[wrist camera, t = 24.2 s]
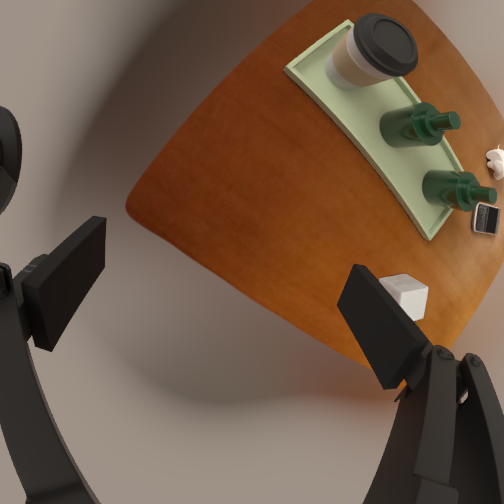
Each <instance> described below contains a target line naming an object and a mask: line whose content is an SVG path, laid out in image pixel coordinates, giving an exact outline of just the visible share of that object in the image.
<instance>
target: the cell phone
mask: <svg viewBox="0 0 504 504" xmlns="http://www.w3.org/2000/svg"><path fill="white" fill-rule="evenodd" d="M499 217H500V209H499V208H497V207H494V206H490V205H487V204H483V203H478V204H477V205H476V206H475V208H474V211H473V219H472V229H473V231H476V232H481V233H487V234H493V235H496V234H497V231H498V224H499Z"/></svg>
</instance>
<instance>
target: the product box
mask: <svg viewBox="0 0 504 504" xmlns="http://www.w3.org/2000/svg"><path fill="white" fill-rule="evenodd" d="M379 282H380V283H381V284H382V285H383V286H384V288H385V289H386V290H387V291H388V292H389V293H390V294H391V296H392V297H393V298H394V299H395V300H396V301H397V303H398V304H399V305H400V306H401V307H402V309H403V310H404V311H405V312H406V313H407V315H408V316H409V317H411V319H412V320H413V321H416V320H419V319H423V317H424V311H425V306H426V300H427V293H428V287H427V286H426V285H424V284H422V283H421V282H419V281H417V280H415V279H414V278H412V277H410V276H409V275H407V274H400V275H395V276H390V277H384V278H379Z"/></svg>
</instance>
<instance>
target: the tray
mask: <svg viewBox="0 0 504 504" xmlns="http://www.w3.org/2000/svg"><path fill="white" fill-rule="evenodd" d="M353 26H354V24H353V23H351V21H350V20H346V21H345V22H343V23H342V24H341V25H339V26H338V27H336V28H335V29H334V30H332V31H331V32H329V33H328V34H327V35H325V36H324V37H323V38H321V39H320V40H319V41H317V42H316V43H315V44H313V45H312V46H311V47H309V48H308V49H307V50H305V51H304V52H303V53H302V54H300V55H299V56H298V57H297V58H295V59H294V60H293V61H292V62H290V63H289V64H288V65H287V66H286V67H285V68H284V70H283V71H284V72H285V73H286V74H287V75H288V76H289V77H290V78H291V79H292V80H293V81H294V82H295V83H297V84H298V85H299V86H300V87H301V88H302V89H303V90H304V91H305V92H306V93H307V94H308V95H309V96H310V97H311V98H312V99H313V100H314V101H315V102H316V103H317V104H318V105H319V106H320V107H321V108H322V109H323V110H324V111H325V113H326V114H327V115H328V116H329V117H330V118H331V119H332V120H333V121H334V122H335V123H336V124H337V125H338V127H339V128H340V129H341V130H342V131H343V132H344V133H345V134H346V136H347V137H348V138H349V139H350V140H351V141H352V142H353V144H354V145H355V146H356V147H357V148H358V149H359V151H360V152H361V153H362V154H363V155H364V157H365V158H366V159H367V160H368V162H369V163H370V164H371V165H372V167H373V168H374V169H375V170H376V172H377V173H378V174H379V176H380V177H381V178H382V179H383V181H384V182H385V183H386V185H387V186H388V187H389V189H390V190H391V191H392V193H393V194H394V196H395V197H396V198H397V200H398V201H399V203H400V204H401V205H402V207H403V208H404V210H405V211H406V213H407V214H408V215H409V217H410V218H411V220H412V221H413V223H414V224H415V226H416V227H417V229H418V231H419V232H420V234H421V235H422V237H423V238H424V239H427V240H429V241H431V239H432V238H433V237H434V235H435V234H436V233H437V231H438V230H439V229H440V227H441V226H442V225H443V223H444V222H445V221H446V219H447V218H448V216H449V215H450V214H451V212H452V211H453V209H452V208H447V207H443V206H438V205H433V204H430V203H429V202H427V200H426V199H425V197H424V195H423V191H422V181H423V178H424V176H425V174H426V173H427V172H428V171H430V170H432V169H435V170H452V171H464V170H463V168H462V166H461V165H460V163H459V161H458V159H457V157H456V156H455V154H454V152H453V150H452V149H451V147H450V145H449V143H448V142H447V140H446V139H445V137H444V135H443V138H442V140H441V141H440V143H439V144H437V145H435V146H422V147H407V148H394V147H391V146H390V145H388V144H387V143H386V142H385V141H384V139H383V138H382V135H381V133H380V128H379V124H380V119H381V117H382V116H383V114H384V113H386V112H388V111H391V110H395V109H398V108H402V107H406V106H409V105H413V104H417V103H421V101H420V100H419V98H418V97H417V96H416V94H415V93H414V92H413V90H412V89H411V88H410V86H409V85H408V84H407V82H406V81H405V80H404V79H403V77H395V78H393V79H390V80H386V81H383V82H380V83H377V84H373V85H370V86H366V87H362V88H359V89H356V90H351V91H348V90H343V89H341V88H339V87H337V86H336V85H334V84H333V83H332V82H331V81H330V79H329V78H328V76H327V74H326V72H325V61H326V59H327V58H328V57H329V55H330V54H331V53H332V52H333V49H334V48H335V46H336V45H337V44H338V43H339V41H340V40H341V39H342V38H343V37H344V36H345V34H346V33H347V32H348V31H349V30H350V28H352V27H353Z"/></svg>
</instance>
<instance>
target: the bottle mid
mask: <svg viewBox="0 0 504 504" xmlns="http://www.w3.org/2000/svg"><path fill="white" fill-rule="evenodd" d="M460 125H461V121H460V117H459V115H458V114H457V113H456V112H454V111H451V112H445V113H440V112H439V111H437V109H436V108H435V107H434V106H433V105H431V104H429V103H426V102H421V103H417V104H413V105H409V106H406V107H402V108H398V109H395V110H391V111H388V112H386V113H384V114H383V116H382V117H381V119H380V124H379V128H380V133H381V135H382V138H383V139H384V141H385V142H386V143H387V144H388V145H390V146H391V147H394V148H407V147H422V146H435V145H437V144H439V143H440V141H441V140H442V138H443V134H444V131H446V130H457V129H459V128H460Z"/></svg>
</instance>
